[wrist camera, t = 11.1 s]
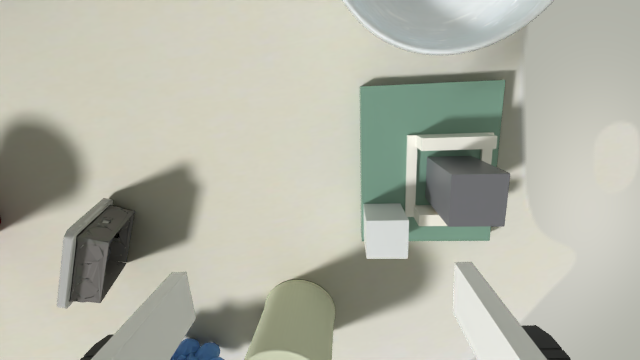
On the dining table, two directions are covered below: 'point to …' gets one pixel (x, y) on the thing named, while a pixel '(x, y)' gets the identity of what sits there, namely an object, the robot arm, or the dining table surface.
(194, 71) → the dining table surface
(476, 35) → the serving bowl
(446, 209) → the plug
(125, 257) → the electrical switch
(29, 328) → the dining table surface
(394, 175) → the board
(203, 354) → the grapes
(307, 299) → the can
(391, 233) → the plug
